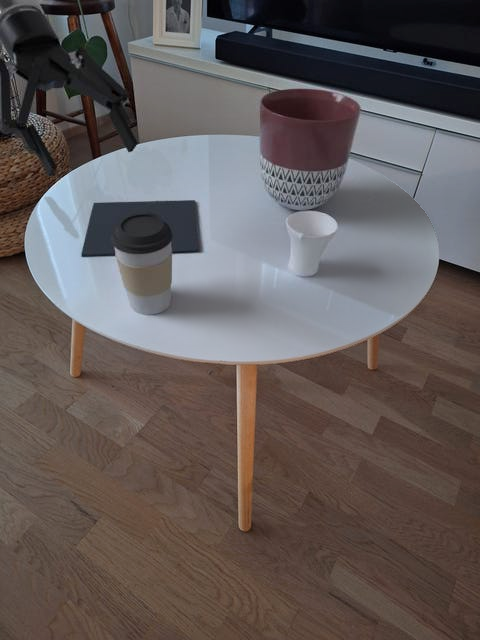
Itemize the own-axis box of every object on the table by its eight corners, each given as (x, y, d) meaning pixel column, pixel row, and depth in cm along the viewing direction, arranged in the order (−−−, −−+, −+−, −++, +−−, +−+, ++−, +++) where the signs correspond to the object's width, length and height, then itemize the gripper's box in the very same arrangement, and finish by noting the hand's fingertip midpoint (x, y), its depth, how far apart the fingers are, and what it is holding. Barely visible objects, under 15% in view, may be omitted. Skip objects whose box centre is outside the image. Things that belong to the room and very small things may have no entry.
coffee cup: (152, 327, 73) (141, 246, 63) (111, 305, 76) (94, 225, 66) (188, 297, 78) (184, 219, 68) (148, 278, 82) (138, 201, 72)
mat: (81, 256, 86) (81, 254, 86) (94, 204, 101) (93, 202, 100) (199, 252, 89) (199, 250, 88) (195, 202, 103) (194, 200, 103)
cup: (271, 274, 84) (276, 226, 77) (293, 250, 90) (300, 203, 83) (316, 291, 81) (325, 242, 74) (336, 265, 87) (346, 218, 80)
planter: (237, 198, 105) (240, 98, 91) (298, 177, 114) (310, 83, 100) (296, 235, 94) (310, 128, 80) (359, 208, 103) (381, 108, 89)
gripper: (92, 33, 77) (154, 150, 79) (-69, 55, 64) (11, 194, 66) (104, -1, 71) (170, 127, 73) (-72, 16, 58) (17, 171, 60)
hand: (95, 159), depth 70 cm, fingers open, 13 cm apart
